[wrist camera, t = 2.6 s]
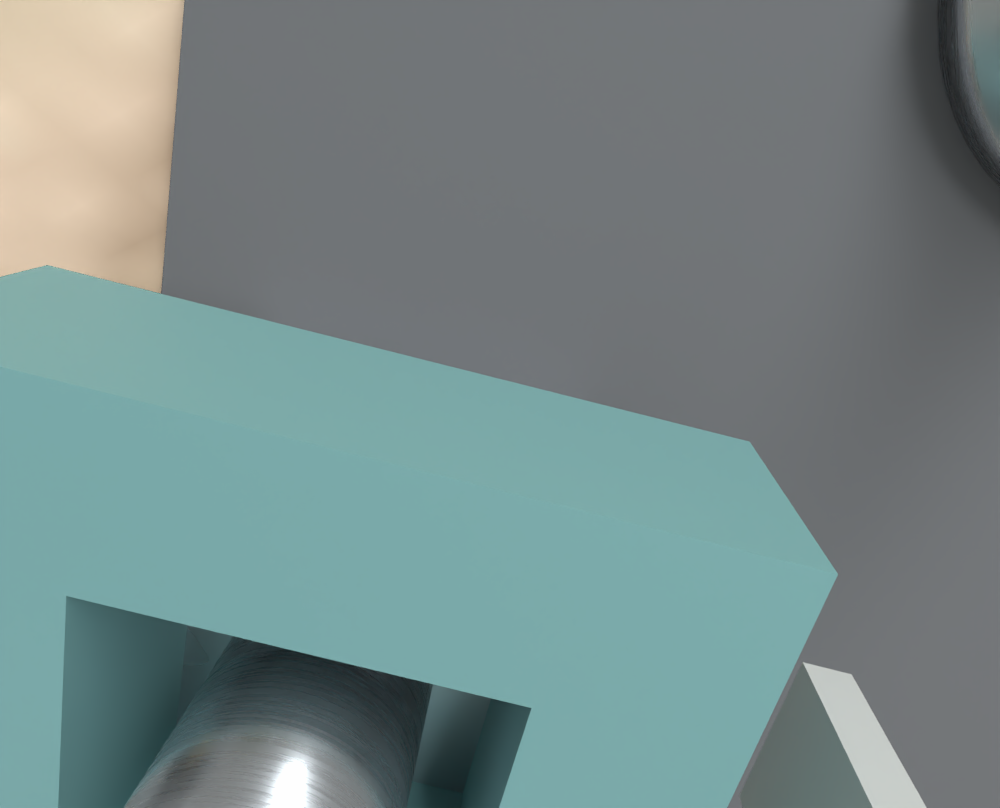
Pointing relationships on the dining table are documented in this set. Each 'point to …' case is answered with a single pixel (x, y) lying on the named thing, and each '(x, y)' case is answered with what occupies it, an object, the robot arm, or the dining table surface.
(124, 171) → the dining table surface
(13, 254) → the dining table surface
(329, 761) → the stand
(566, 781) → the teal square collar
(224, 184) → the mat
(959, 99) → the bell
